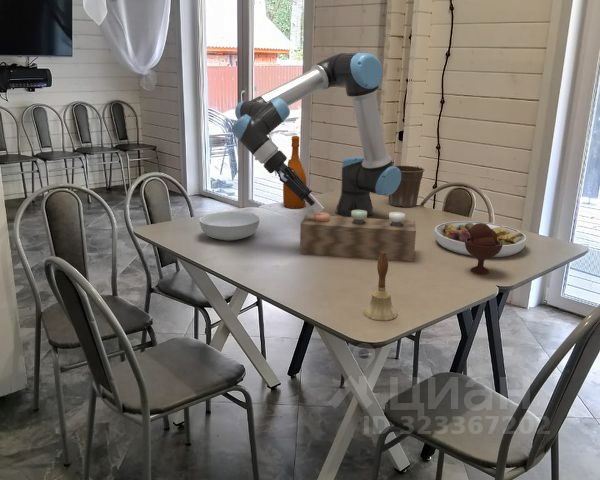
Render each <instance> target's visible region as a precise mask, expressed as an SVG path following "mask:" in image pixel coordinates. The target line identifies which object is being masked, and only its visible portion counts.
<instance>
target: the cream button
mask: <svg viewBox="0 0 600 480" xmlns="http://www.w3.org/2000/svg"><path fill="white" fill-rule="evenodd" d="M388 219H389V220H390V221H392V226H400V227H401V222H403V221H405V220H406V213H404V212H401V211H391V212H389V213H388Z"/></svg>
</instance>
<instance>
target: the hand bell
mask: <svg viewBox="0 0 600 480" xmlns="http://www.w3.org/2000/svg"><path fill="white" fill-rule="evenodd" d="M376 267H377V273H378V285H377V288H378V289H377V290H374V291H373V292H372V294H371V298H370V302H369V305H368V306H367V307H366V308H364V310H363V314H364V315H363V316H364V317H366V318H368V319H371V320H373V321H379V322H380V321H383V322H384V321H391V320H394V319H396V318H397V317H398V312H397V309H395V308H394V307H393V304H392V299H391V293H390V292H389V291H387V290H386V276H387V274H388V269H389V260H388V259H387V255H386V252H381V254H380V257H379V259H377V265H376Z"/></svg>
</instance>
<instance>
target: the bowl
mask: <svg viewBox="0 0 600 480" xmlns="http://www.w3.org/2000/svg"><path fill="white" fill-rule="evenodd" d="M478 223H483V224H486V225H488V226H489V227H490V228H491V229H493V231H495V232H496V233H497V240H500V241H502V244H503V245H502V248H501V250H500V252H499V253H498V254H497V255H495V256H494V257H493V258H505V257H510V256H513V255H516V254H518V253H519V252H521V251H522V250H523V249H524V248H525V246H526V243H527V235H526V234H525V233H524V232H522V231H520V230H519V229H516V228H513V227H509V226H507V225H502V224H498V223H493V222H486V221H476V220H475V221H473V220H458V221H457V220H456V221H455V220H454V221H447V222H442V223H440V224H438V225H436V226H435V227H434V238H435V239H436V242H437V243H438V244H439V245H440V246H441V247H443V248H445V249H446V250H448V251H451V252H454V253H457V254H461V255H464V256H471V257H473V256H472V255H471V254H470V253H469V252H468V251H467V250H466V247H465V238H467V237H470V233H469V231H470V229H471V227H472V226H474V225H475V224H478Z"/></svg>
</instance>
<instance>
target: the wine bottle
mask: <svg viewBox="0 0 600 480" xmlns="http://www.w3.org/2000/svg"><path fill="white" fill-rule="evenodd" d="M290 146H291V148H292V149H291V156H290V159H288V161H287V166H289V167H290V168H293V169H294V171H295V172H296V174H297V175H298V176H299V177H300V179H301V180H302V181H303V182H304V184H305V185H306V186H307V176H306V173H305V170H304V167H303V165H302V163H301V159H300V156H299V155H300V154H299V153H300V151H299V150H300V149H299V148H300V136H298V135H293V136H291V145H290ZM282 183H283V182H282ZM282 193H283V194H282V195H283V196H282V198H283V199H282V200H283V206H284V207H285V208H288V209H289V208H290V209H302V208H304V207H305V206H306V204H307V203H306V202H305V200H303V201H301V199H300V198H299V197H298V196H297V195H296V194H295V193H294V192H293V191H292V190H291V189H289V188H288V187H287V186H286V185H285V184H284V183H283V185H282Z"/></svg>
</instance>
